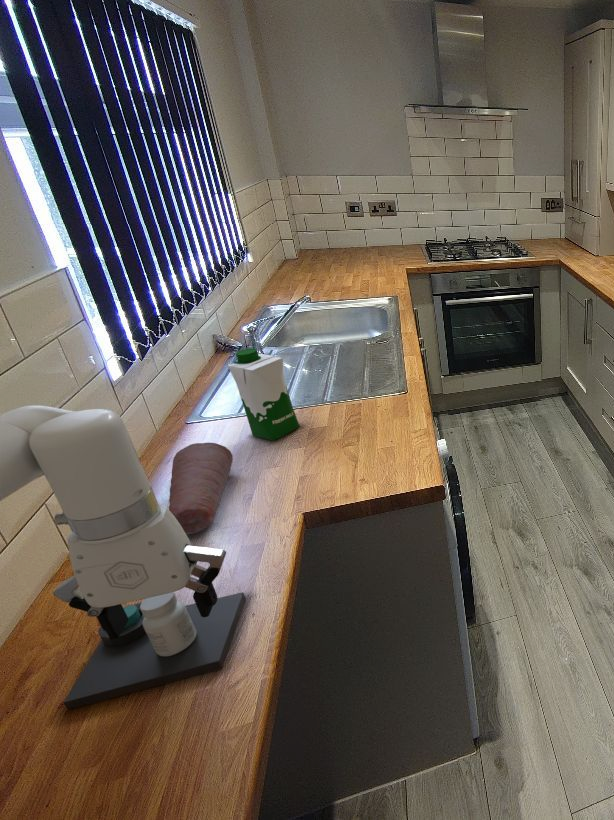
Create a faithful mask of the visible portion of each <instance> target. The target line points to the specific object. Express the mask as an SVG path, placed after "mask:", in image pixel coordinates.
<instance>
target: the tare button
mask: <svg viewBox="0 0 614 820" xmlns="http://www.w3.org/2000/svg"><path fill="white" fill-rule="evenodd" d="M122 607H123V609H124V611H125V613H126V615H127V617H128V622H127V624H126V625H125V627H124V629H126V628H128V627H130V626H131V625H133V624H135V623H136V622H137V621H138V620H139V619H140V617H141V615H140V613H139V611H138V609H137V607H136V606H134V604H130V605H126V606H122Z"/></svg>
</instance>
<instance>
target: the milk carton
mask: <svg viewBox="0 0 614 820" xmlns="http://www.w3.org/2000/svg"><path fill="white" fill-rule="evenodd" d="M235 356H236V360H237V361H234V362H232V363H230V364H227V367H228V369H229V372H230V373H231V376H232V377H233V380H234V382H235V384H236V388H237V390H238V393H239V396H240V400H241V403H242V406H243V408H244V412H245V414H246V418H247V421H248V425H249V429H250V432H251V436H254V437H258V438H262V439H265V440H269V441H273V442H275V441H277V440H279V439H280V438H282V437H284V436H287V435H288V434H289V433H291V432H293V431H295V430H297V429H298V428H300V427H301V426H300V423H299V420H298V417H297V415H296V412H295V409H294V407H293V403H292V400H291V396H290V393H289V389H288V386H287V382H286V379H285V374H284V358H283V357H280V356H276V355H271V354H265V353H259V352H258V350H257V349H256V348H245V349H241V350H239V351H236V353H235Z"/></svg>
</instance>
